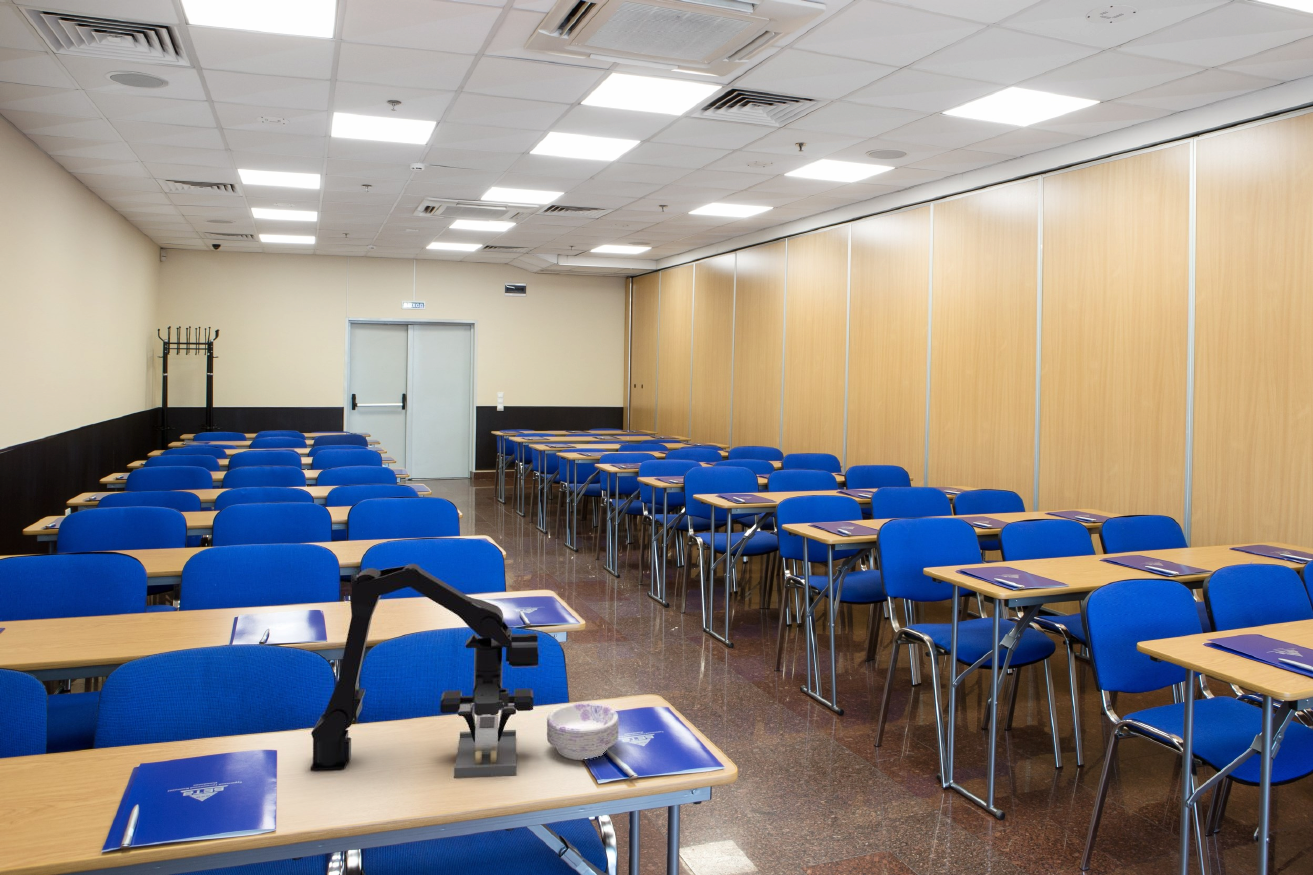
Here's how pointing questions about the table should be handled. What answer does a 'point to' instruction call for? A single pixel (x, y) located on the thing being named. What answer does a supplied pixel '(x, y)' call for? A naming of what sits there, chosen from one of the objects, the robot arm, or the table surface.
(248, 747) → the table surface
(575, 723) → the paper bowls
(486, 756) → the tray
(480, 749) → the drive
